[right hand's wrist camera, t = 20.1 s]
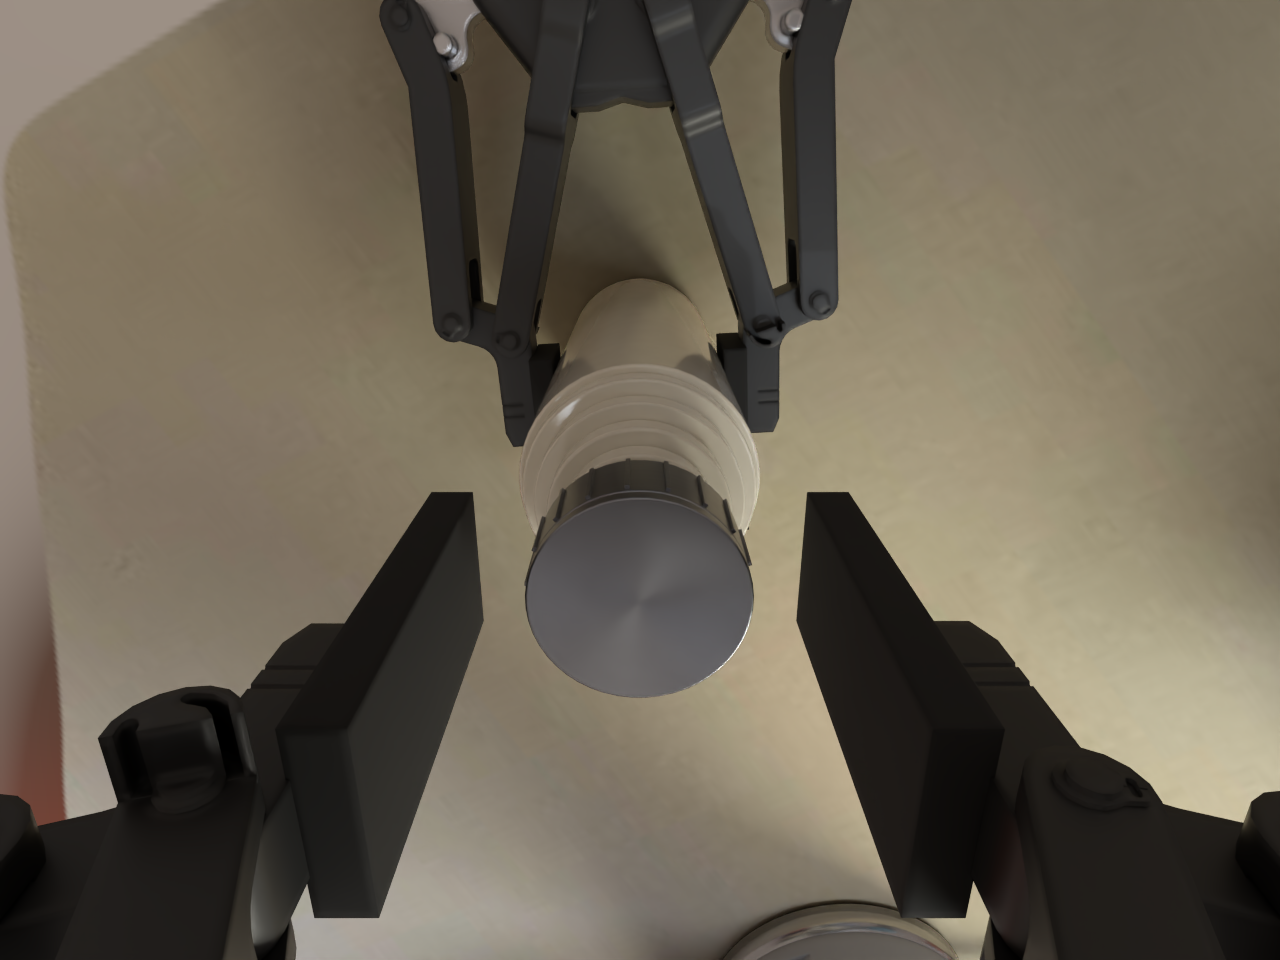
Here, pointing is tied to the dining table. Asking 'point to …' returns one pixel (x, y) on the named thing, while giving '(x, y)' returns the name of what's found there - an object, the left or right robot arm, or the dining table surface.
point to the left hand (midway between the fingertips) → (648, 518)
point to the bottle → (639, 401)
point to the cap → (639, 580)
